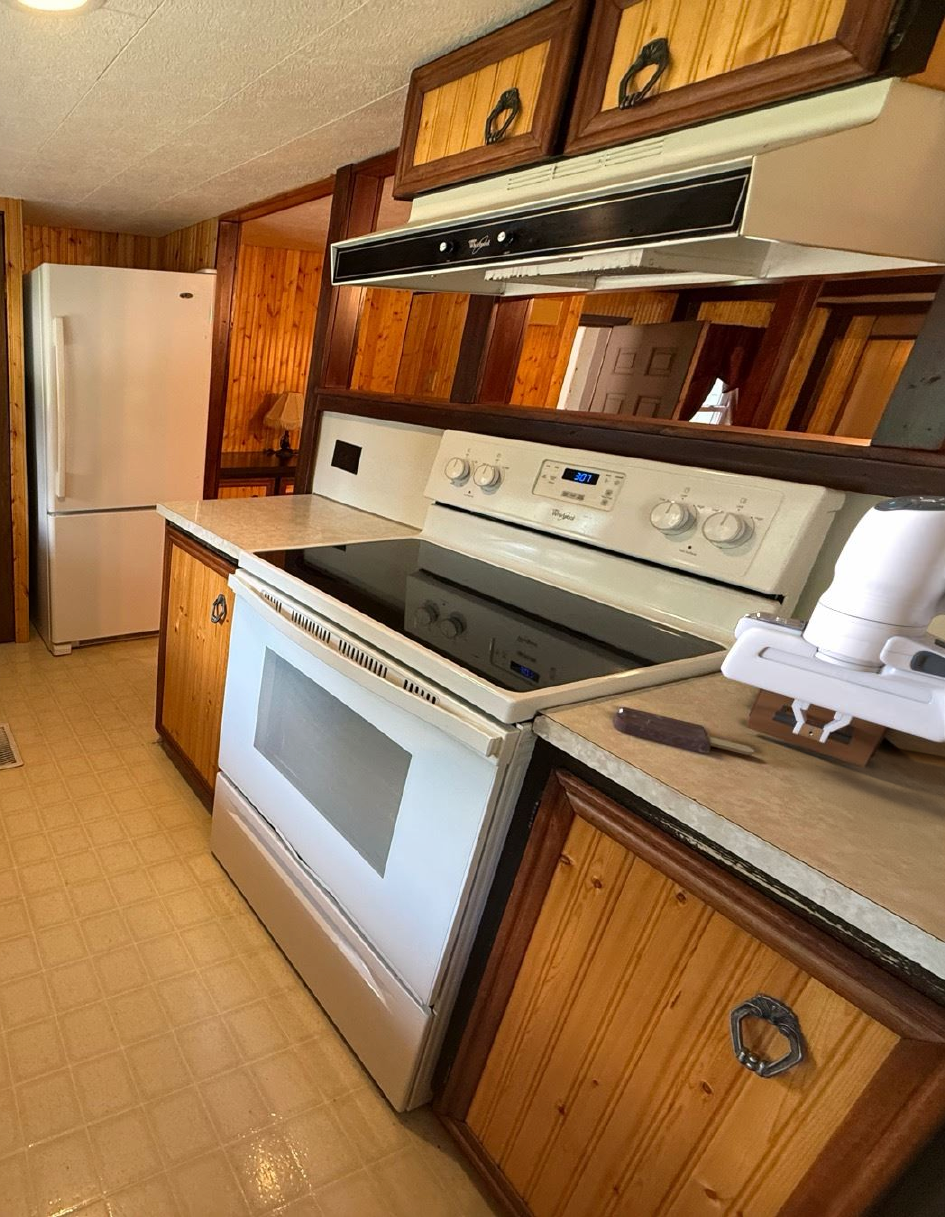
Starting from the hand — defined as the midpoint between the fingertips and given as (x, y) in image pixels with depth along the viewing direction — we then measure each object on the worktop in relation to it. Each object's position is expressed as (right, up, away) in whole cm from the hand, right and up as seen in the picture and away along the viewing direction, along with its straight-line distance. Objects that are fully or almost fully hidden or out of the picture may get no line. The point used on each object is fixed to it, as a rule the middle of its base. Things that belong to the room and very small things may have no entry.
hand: (808, 736), depth 81 cm
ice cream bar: (-10, -2, +7) cm, 13 cm away
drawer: (+8, -1, +8) cm, 11 cm away
